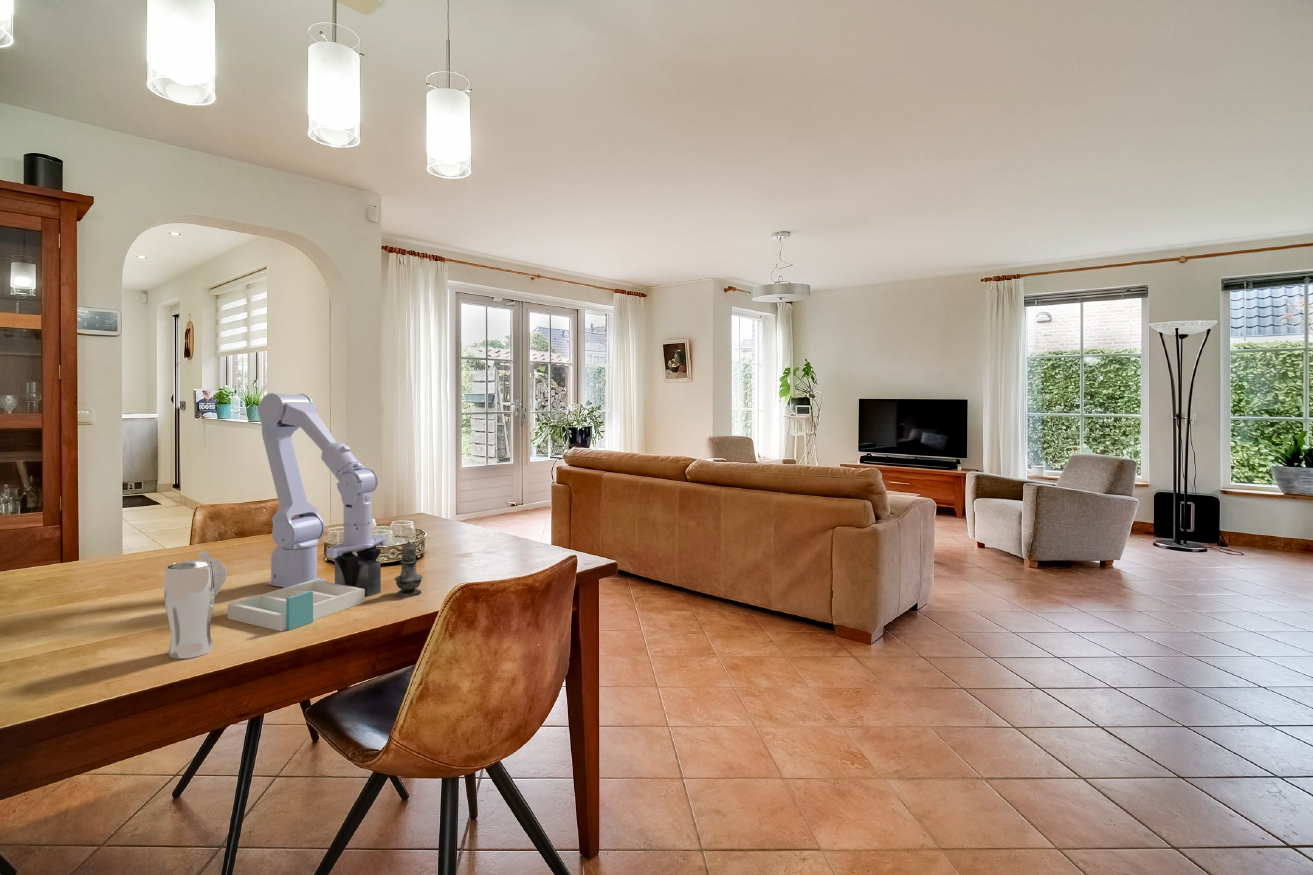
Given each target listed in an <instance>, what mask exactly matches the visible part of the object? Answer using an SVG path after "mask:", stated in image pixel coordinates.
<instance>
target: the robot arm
mask: <svg viewBox="0 0 1313 875" xmlns="http://www.w3.org/2000/svg"><path fill="white" fill-rule="evenodd" d="M256 409H257V412H258V416H259V420H260V424H261V436H262V440H263V444H264V447H265V448H264V449H265V452H266V456H267V459H268V465H269V469H270V472H271V476H272V480H273V483H274V487H275V493H276V497H277V500H278V505H279V508H278V510H277V511H276V512H275V513H274V515H272V517H271V521H272V530H271V531H272V533H271V535H272V540H273V541H274V543H275V544H276V545H277V546H276V547H275V548H274V549H273V551H272V553H271V558H270V571H271V572H270V578H271V579H270V580H271V581H268V582H267V585H269V586H274V587H280V588H286V587H290V586H293V585H297V584H300V583H304V582H308V581H311V580H319V581H324V582H327V579H326V578H323V577H322V578H321V577H318V559H317V558H318V544H320V539H322V538H323V536H324V535H325V530H326V526H325V522H324V520H323V518H322V517H321V516H320V513H319V510H318V507H316V506H315V505H314V504H311V503H309V502H308V500H307V496H306V492H305V489H304V485H303V480H302V477H301V472H300V469H299V465H298V461H297V457H296V453H295V449H294V445H293V441H292V436H293V434H294V433H295V431H298V430H299V428H300V429H301V430H302V431H304V433H305V434H306V435H307V436H308V438H310V439H311V440H312V441H313V443H315V445H316V446H317V447H318V448H319V449H320V450H321V456H320V457H321V460H322V462H323V463H324V464H325V466H326V467H327V468H328V469H329V471H330V472H331V473H332V474H333V475H334V476H335V478H336V479H337V481H338V482H337V483H336V487H337V490H338V492H339V493H340V497H341V502H342V504H343V542H341V543H339V544H336V545H334V546H331V547H328V548H326V558H328V559H334V561H335V560H336V562H337V563H338V565H339V567H340V569H341V571H342V574H343V577H344V580H345V584H346V585H348V586H354V585H355V581H356V568H357V564H358V560H359V558H361V559H368V560H374V561H378V558H379V556H380V555H381V551H382V550H381V548H377V547H379V546H382V547H383V546H386V545H387V536H381V535H378V536H373V535H372V534H373V533H372V529H373V526H372V525H373V523H372V522H373V516H372V514H373V492H374V491H375V490H376V489H377V487H378V482H379V481H378V476H377V474H376V473H375V471H374V470H373V469H372V468H369V467H366V466H365V465H363V464H362V463H361V462H360V461H359V460H358V458H356V456H355V455H354V454H353V453H352V451H351V447H350V446H349V445H346V444H345V443H343V442H342V443H341V442H337V441H336V439H335V438H334V436H333V435H332V434H331V432H330V431H329V429H328V428H327V426H326V425H325V423H324V422H323V421H322V419H321V417H320V416H319V415H318V412H317V411H318V406H317V405H316V404H315V403H314V402H313V400H312V398H311V397H310V396H309V395H307V394H305V393H299V394H293V393H292V394H291V393H290V394H289V393H288V394H286V393H285V394H284V393H273V392H272V393H271V392H269V393H267V394H265V395H264V396H263V397H262V399H261V401H260V402H259V404H258V405H257V407H256ZM293 517H294V518H293ZM372 536H373V537H372ZM355 553H356V555H355Z"/></svg>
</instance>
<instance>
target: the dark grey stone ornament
mask: <svg viewBox="0 0 1313 875" xmlns="http://www.w3.org/2000/svg"><path fill="white" fill-rule="evenodd" d="M401 549H402V550H401V560H400V561H399V562H400V563H401V571H400V575H398V576H396V577H394V581H395V583H396V586H397V588H398V589H400V590H398V591H397V592H396V593H395V596H396V597H400V598H410V597H417V596H419V595H421V594H422V591H421V589H420V590H419V589H418V588H419V587H420V585H421V582H422V579H423V578H424V577H423V575H422V574H418V573H417V562H418V559H417V555H416V554H417V550H416V546H415V545H414V544H411V540H408V541H407V543H406V544H405V545H403V546H402V548H401Z"/></svg>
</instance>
